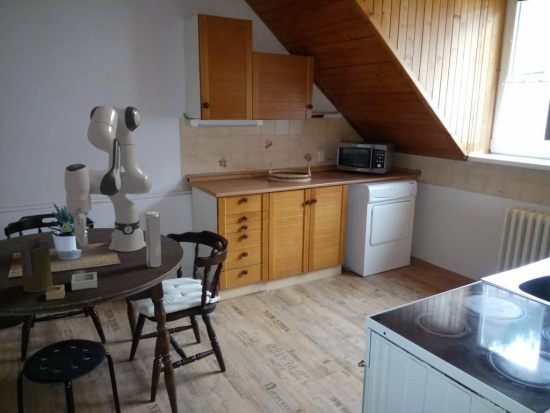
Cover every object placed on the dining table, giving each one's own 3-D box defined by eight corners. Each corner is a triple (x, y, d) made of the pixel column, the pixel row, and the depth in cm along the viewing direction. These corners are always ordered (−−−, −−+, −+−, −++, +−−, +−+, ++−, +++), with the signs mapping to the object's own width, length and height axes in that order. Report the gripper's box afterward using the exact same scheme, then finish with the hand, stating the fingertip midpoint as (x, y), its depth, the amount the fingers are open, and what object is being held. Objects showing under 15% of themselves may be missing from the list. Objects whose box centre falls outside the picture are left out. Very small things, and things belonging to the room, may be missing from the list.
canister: (31, 281, 173) (25, 234, 169) (57, 281, 174) (53, 235, 170) (17, 293, 163) (11, 243, 158) (45, 292, 164) (41, 243, 159)
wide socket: (72, 281, 175) (72, 274, 174) (97, 278, 178) (96, 271, 177) (72, 290, 166) (71, 283, 166) (97, 287, 170) (96, 280, 169)
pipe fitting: (75, 246, 170) (74, 229, 168) (88, 245, 172) (87, 228, 170) (75, 250, 166) (74, 233, 164) (88, 249, 167) (87, 232, 166)
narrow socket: (47, 293, 163) (47, 286, 162) (65, 291, 165) (64, 284, 164) (46, 300, 157) (45, 292, 157) (64, 298, 160) (63, 290, 159)
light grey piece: (157, 268, 191) (155, 214, 186) (144, 266, 193) (141, 213, 187) (163, 263, 198) (162, 211, 192) (150, 261, 199) (148, 210, 193)
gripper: (87, 212, 157) (90, 247, 160) (88, 200, 175) (90, 232, 178) (68, 213, 154) (71, 249, 157) (71, 201, 173) (73, 233, 176)
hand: (81, 240), depth 168 cm, fingers closed on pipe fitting, 4 cm apart
